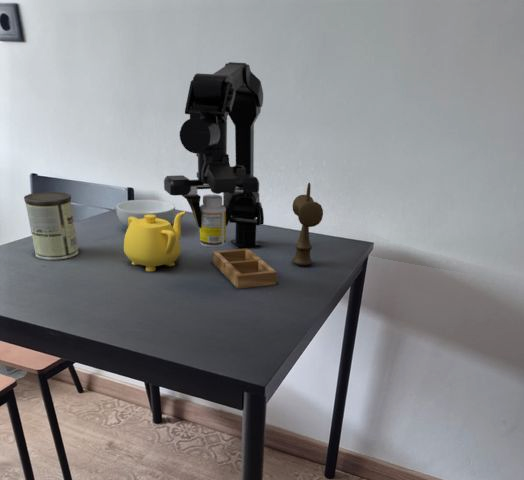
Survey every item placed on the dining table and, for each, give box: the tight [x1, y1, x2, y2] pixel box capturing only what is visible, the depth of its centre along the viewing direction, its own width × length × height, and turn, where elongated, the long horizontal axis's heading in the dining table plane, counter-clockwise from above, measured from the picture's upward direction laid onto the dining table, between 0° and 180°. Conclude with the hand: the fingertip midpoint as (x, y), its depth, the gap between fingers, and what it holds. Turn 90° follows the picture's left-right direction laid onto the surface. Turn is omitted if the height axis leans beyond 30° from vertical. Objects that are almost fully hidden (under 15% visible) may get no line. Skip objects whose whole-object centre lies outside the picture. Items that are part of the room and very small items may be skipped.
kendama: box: [292, 182, 324, 267], centre depth 119 cm, size 6×10×20 cm, turn 7°
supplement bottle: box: [199, 193, 227, 249], centre depth 102 cm, size 6×6×10 cm
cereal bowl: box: [115, 199, 176, 228], centre depth 142 cm, size 17×17×7 cm
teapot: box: [123, 210, 186, 272], centre depth 116 cm, size 14×14×12 cm
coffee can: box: [23, 191, 80, 261], centre depth 118 cm, size 10×10×14 cm
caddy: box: [212, 248, 278, 290], centre depth 115 cm, size 18×9×3 cm, turn 23°
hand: (212, 226), depth 103 cm, fingers closed on supplement bottle, 5 cm apart
